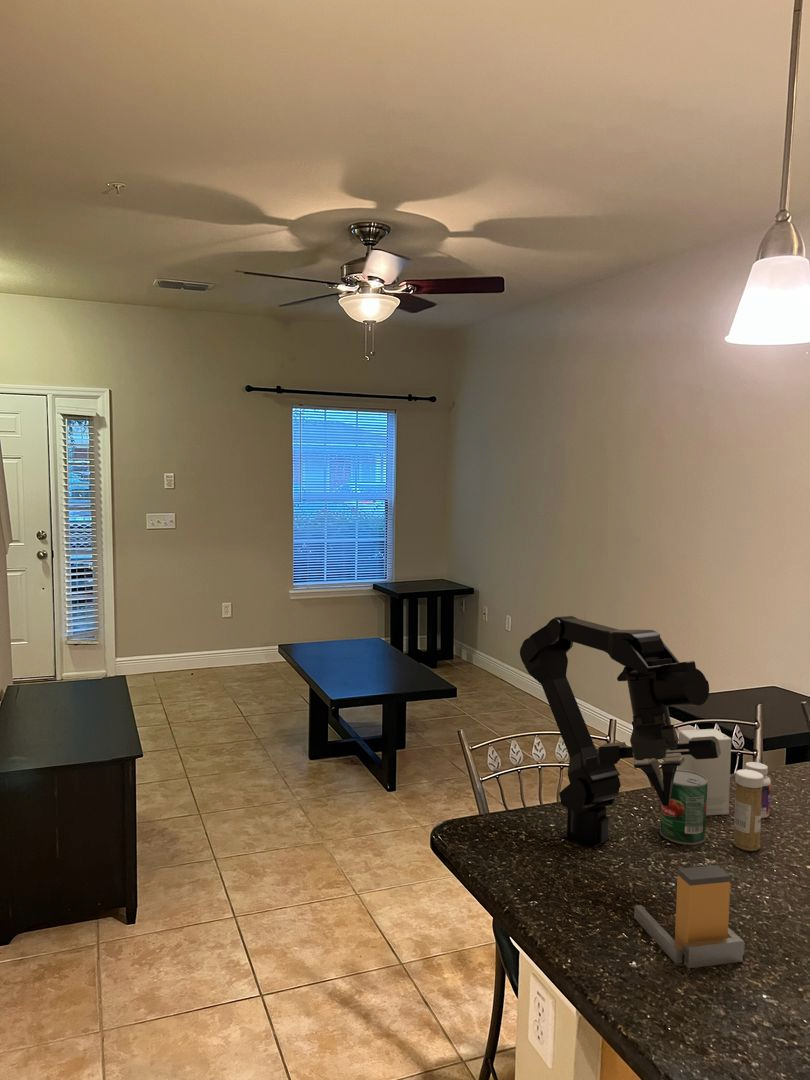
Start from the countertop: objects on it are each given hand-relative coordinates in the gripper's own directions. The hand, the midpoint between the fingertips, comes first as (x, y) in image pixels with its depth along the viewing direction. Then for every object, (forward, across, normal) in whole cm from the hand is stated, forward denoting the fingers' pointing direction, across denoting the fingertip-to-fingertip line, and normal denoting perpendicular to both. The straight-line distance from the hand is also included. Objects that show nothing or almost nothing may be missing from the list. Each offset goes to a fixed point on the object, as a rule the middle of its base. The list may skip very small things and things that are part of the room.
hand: (666, 805), depth 123 cm
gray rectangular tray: (+16, +1, -12) cm, 20 cm away
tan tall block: (+16, +4, -16) cm, 23 cm away
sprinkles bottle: (+12, +8, +23) cm, 27 cm away
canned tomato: (+10, -2, +22) cm, 24 cm away
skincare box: (+8, 0, +36) cm, 36 cm away
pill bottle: (+10, +9, +39) cm, 41 cm away
